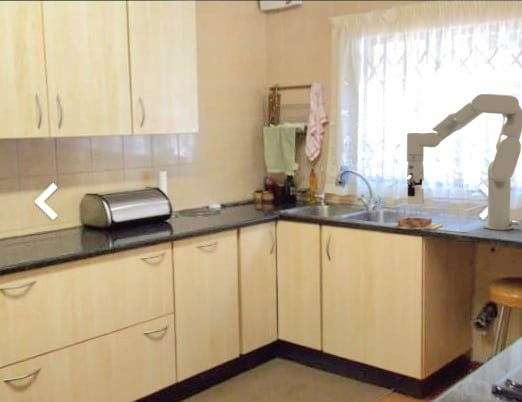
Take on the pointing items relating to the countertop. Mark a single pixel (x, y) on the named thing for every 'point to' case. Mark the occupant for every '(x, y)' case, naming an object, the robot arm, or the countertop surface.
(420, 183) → the medicine bottle
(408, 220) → the dock board
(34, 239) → the countertop surface
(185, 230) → the countertop surface
